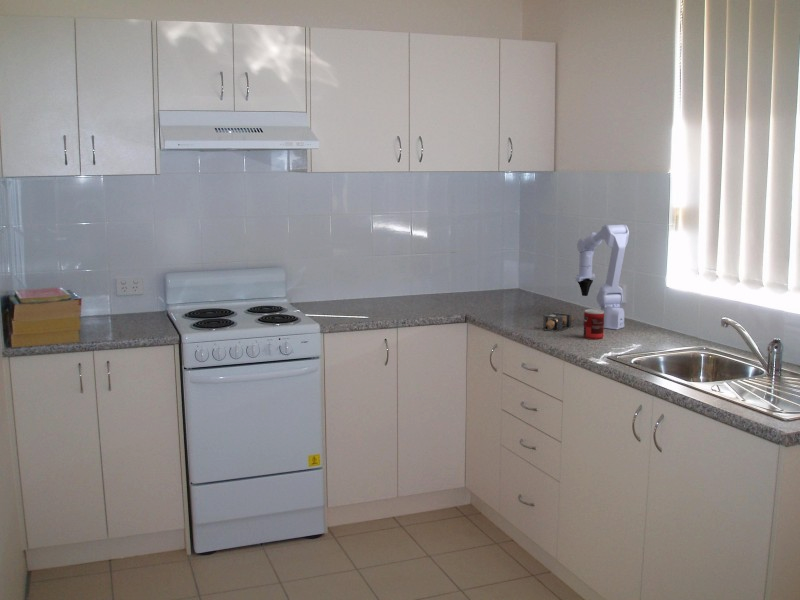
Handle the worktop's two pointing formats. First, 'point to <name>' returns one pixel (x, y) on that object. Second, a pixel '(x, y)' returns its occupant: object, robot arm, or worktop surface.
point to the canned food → (593, 324)
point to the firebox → (558, 321)
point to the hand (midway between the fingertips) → (584, 295)
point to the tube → (553, 322)
